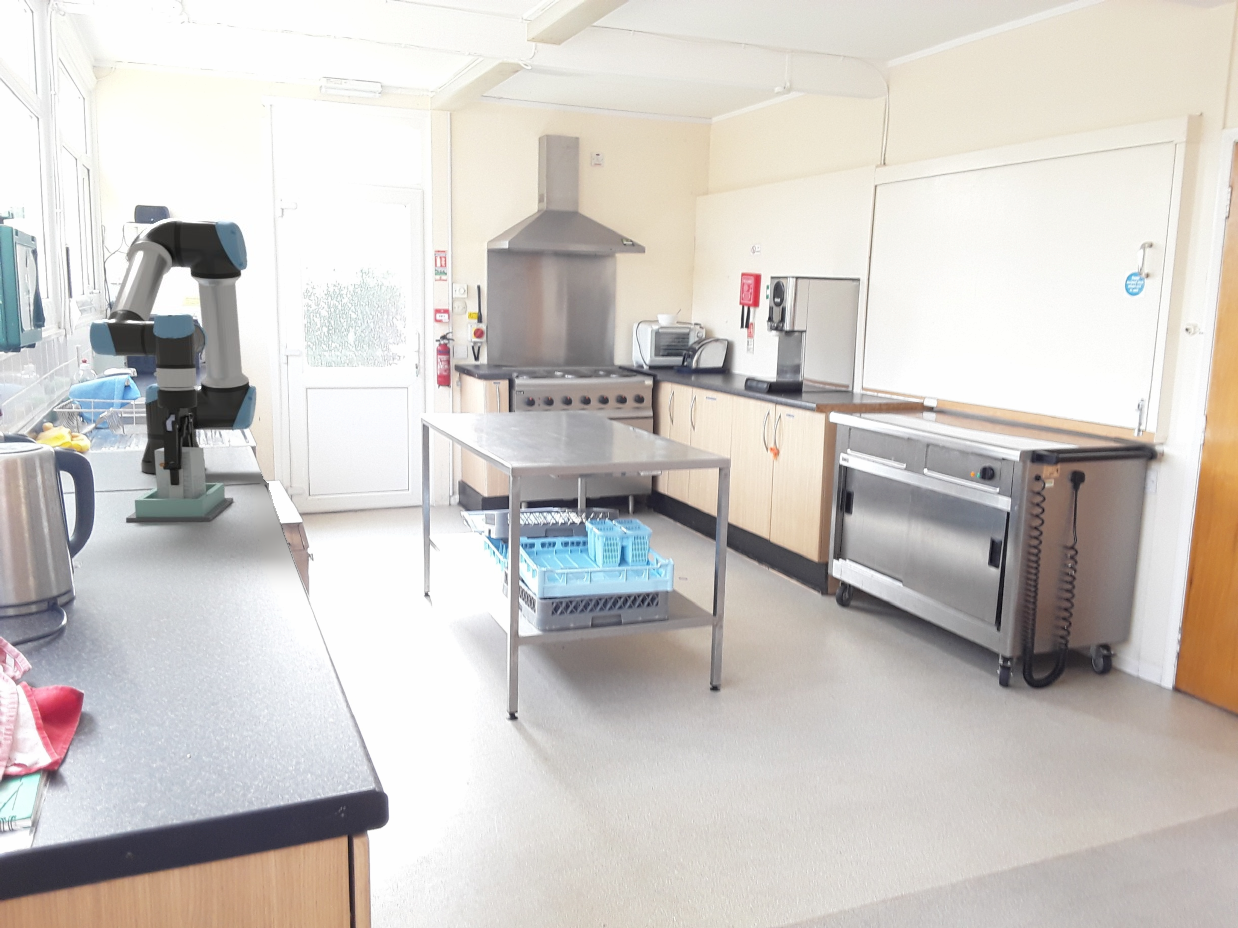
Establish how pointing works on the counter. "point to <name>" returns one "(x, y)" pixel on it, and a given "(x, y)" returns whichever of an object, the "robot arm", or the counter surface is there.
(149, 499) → the caddy
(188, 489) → the small box
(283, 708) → the counter surface
